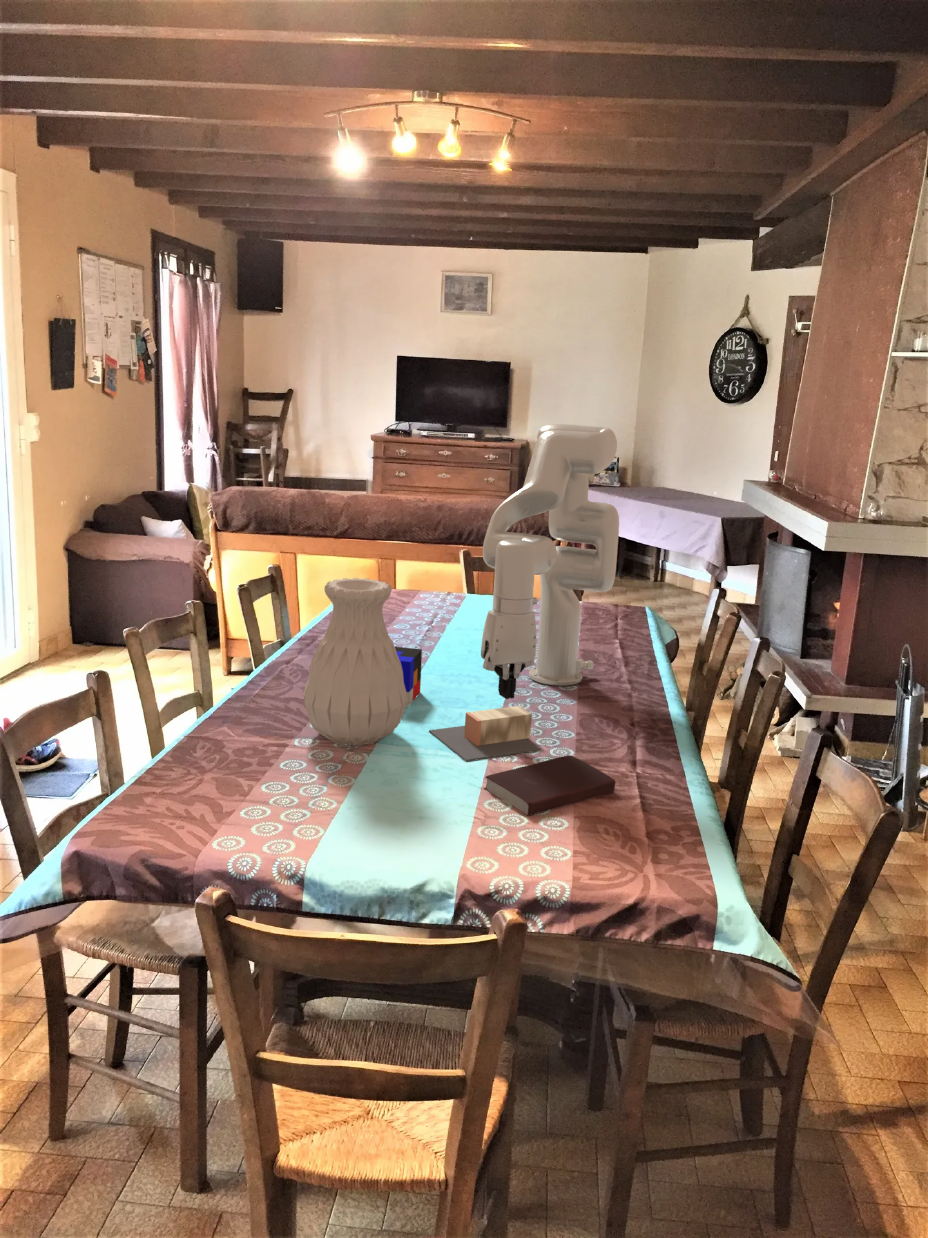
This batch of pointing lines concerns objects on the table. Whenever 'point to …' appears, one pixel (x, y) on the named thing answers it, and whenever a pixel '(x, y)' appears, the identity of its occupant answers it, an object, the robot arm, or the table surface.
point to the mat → (470, 751)
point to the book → (550, 784)
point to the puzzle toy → (410, 670)
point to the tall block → (497, 725)
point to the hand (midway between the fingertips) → (506, 696)
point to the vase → (356, 668)
